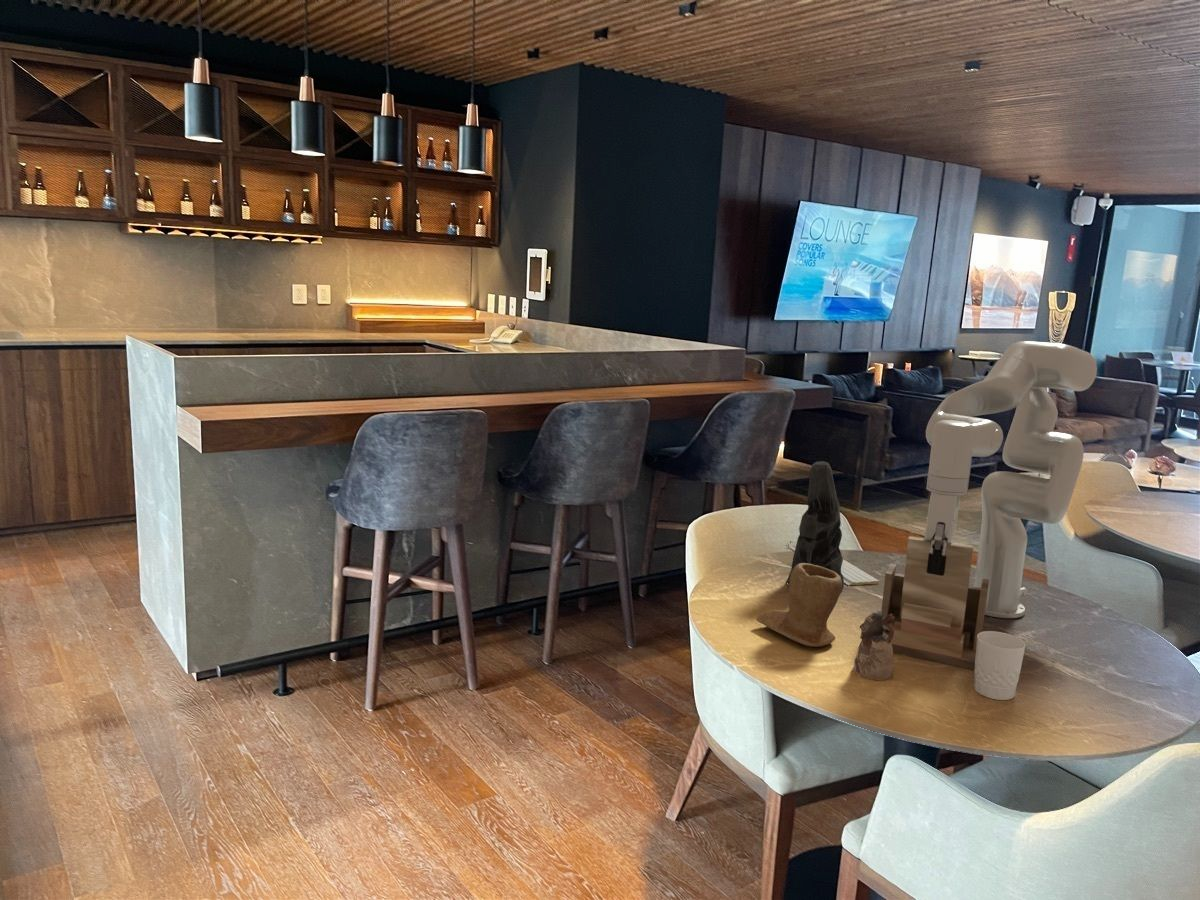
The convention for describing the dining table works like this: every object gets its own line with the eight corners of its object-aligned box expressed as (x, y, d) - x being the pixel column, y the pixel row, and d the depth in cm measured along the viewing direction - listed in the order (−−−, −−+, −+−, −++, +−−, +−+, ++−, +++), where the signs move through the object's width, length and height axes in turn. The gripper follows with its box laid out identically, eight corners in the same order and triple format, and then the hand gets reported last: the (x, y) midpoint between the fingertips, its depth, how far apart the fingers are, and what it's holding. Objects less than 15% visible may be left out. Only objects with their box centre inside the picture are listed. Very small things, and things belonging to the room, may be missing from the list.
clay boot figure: (849, 643, 177) (856, 572, 174) (806, 655, 171) (813, 581, 168) (795, 618, 190) (801, 551, 187) (754, 627, 183) (759, 559, 180)
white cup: (995, 705, 153) (1002, 651, 151) (960, 685, 160) (967, 634, 158) (1028, 698, 156) (1035, 645, 154) (992, 679, 163) (999, 628, 161)
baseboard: (842, 588, 211) (878, 586, 213) (843, 577, 210) (880, 575, 213) (784, 550, 239) (817, 548, 242) (785, 540, 239) (818, 539, 241)
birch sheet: (899, 629, 181) (909, 536, 178) (961, 641, 176) (973, 545, 172) (898, 632, 180) (908, 538, 176) (960, 644, 175) (973, 548, 171)
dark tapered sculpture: (775, 577, 215) (785, 457, 210) (825, 574, 219) (836, 456, 213) (802, 597, 202) (813, 470, 197) (855, 593, 206) (868, 468, 200)
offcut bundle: (894, 635, 178) (897, 600, 177) (962, 648, 173) (967, 612, 171) (890, 643, 174) (894, 608, 172) (961, 658, 168) (965, 621, 167)
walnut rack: (883, 626, 187) (890, 563, 184) (980, 645, 179) (989, 579, 176) (873, 648, 175) (880, 581, 172) (976, 670, 167) (985, 600, 164)
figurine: (860, 660, 169) (866, 601, 167) (897, 671, 165) (904, 610, 163) (847, 673, 163) (853, 612, 161) (885, 684, 159) (892, 622, 157)
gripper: (931, 473, 181) (922, 552, 184) (922, 489, 166) (912, 576, 169) (971, 478, 178) (961, 558, 181) (965, 495, 163) (954, 583, 166)
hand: (937, 567), depth 175 cm, fingers open, 9 cm apart
